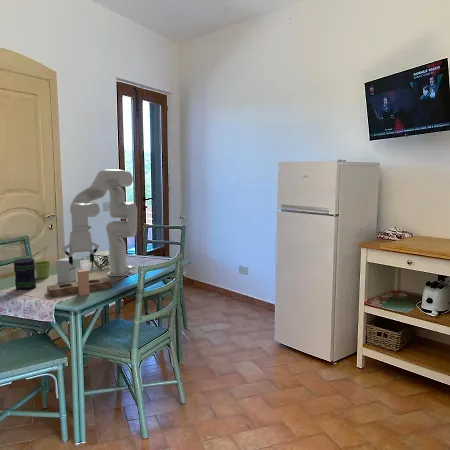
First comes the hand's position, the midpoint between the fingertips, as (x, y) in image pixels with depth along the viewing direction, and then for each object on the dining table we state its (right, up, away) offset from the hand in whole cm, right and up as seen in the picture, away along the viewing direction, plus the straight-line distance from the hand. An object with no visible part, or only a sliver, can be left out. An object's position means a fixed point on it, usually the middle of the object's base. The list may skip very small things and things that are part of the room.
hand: (81, 263), depth 203 cm
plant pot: (-35, -12, +35) cm, 51 cm away
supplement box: (-17, -13, +26) cm, 34 cm away
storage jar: (-34, -15, +14) cm, 39 cm away
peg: (0, -16, +3) cm, 16 cm away
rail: (-4, -15, +9) cm, 18 cm away
